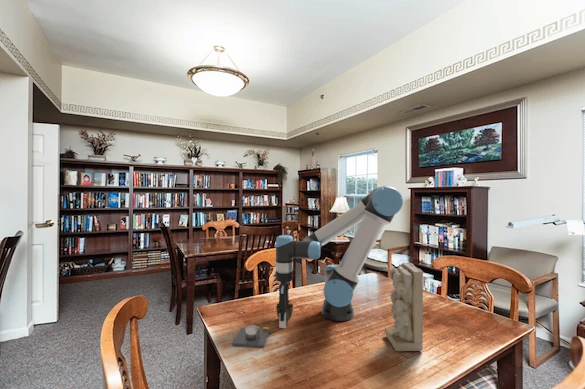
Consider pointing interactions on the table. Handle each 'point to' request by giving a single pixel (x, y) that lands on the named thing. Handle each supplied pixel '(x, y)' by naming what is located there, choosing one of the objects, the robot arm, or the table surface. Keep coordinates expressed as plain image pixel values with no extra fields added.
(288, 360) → the table surface
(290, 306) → the scalloped lamp shade
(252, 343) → the grey plate with knob
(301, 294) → the table surface
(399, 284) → the sculpture
